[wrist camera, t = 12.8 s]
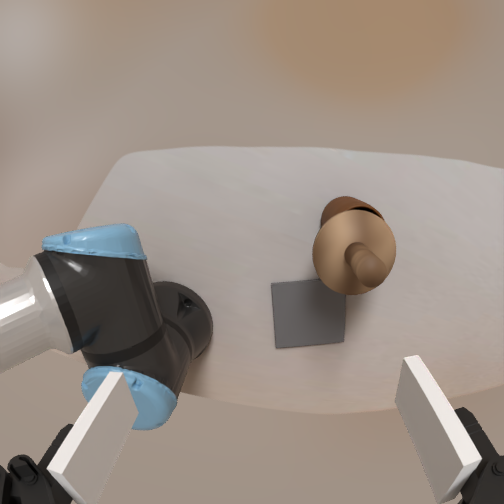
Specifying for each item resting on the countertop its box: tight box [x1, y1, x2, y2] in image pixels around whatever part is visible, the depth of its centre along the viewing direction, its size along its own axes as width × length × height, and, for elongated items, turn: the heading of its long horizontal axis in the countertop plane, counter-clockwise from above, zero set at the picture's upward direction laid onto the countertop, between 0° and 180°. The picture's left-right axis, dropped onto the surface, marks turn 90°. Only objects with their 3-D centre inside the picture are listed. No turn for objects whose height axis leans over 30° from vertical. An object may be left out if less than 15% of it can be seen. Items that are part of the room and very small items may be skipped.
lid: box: [312, 210, 396, 295], centre depth 35 cm, size 11×11×8 cm
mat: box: [271, 279, 346, 348], centre depth 52 cm, size 12×12×1 cm
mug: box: [321, 196, 384, 226], centre depth 44 cm, size 12×8×9 cm, turn 169°
